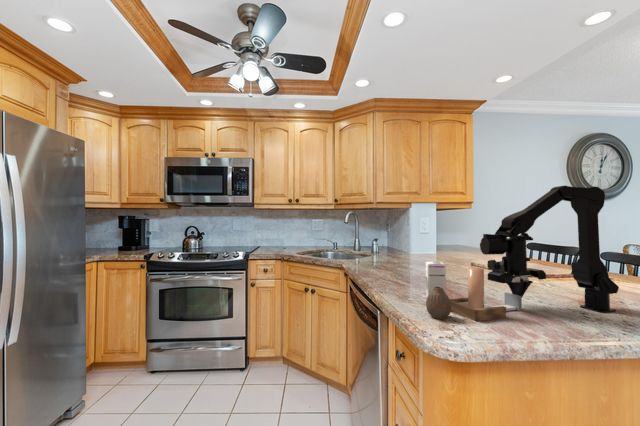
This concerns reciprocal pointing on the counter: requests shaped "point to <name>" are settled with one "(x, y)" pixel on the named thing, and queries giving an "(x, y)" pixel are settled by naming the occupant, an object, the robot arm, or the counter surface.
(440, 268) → the syrup box
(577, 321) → the counter surface
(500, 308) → the dock
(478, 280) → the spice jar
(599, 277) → the robot arm
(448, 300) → the vase
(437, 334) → the counter surface
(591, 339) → the counter surface
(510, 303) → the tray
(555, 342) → the counter surface
